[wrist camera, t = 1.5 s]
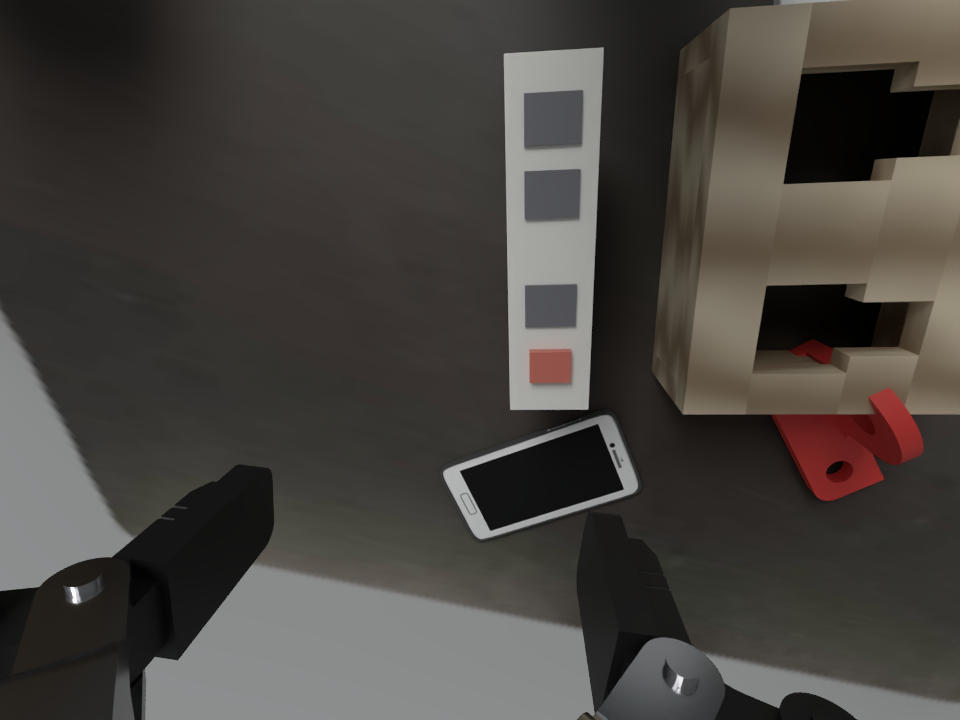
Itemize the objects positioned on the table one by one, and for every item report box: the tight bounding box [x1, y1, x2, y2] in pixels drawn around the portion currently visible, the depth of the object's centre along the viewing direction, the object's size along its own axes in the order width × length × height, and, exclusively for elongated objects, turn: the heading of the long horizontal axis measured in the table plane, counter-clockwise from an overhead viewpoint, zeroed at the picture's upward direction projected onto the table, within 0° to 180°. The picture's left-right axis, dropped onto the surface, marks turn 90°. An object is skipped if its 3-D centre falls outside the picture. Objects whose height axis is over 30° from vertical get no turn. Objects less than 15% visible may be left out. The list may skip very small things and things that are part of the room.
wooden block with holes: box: [652, 0, 960, 414], centre depth 27 cm, size 20×16×7 cm
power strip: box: [504, 47, 604, 410], centre depth 26 cm, size 16×4×9 cm, turn 2°
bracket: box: [771, 339, 923, 501], centre depth 31 cm, size 12×4×8 cm, turn 33°
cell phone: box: [440, 409, 642, 541], centre depth 38 cm, size 8×15×1 cm, turn 114°
